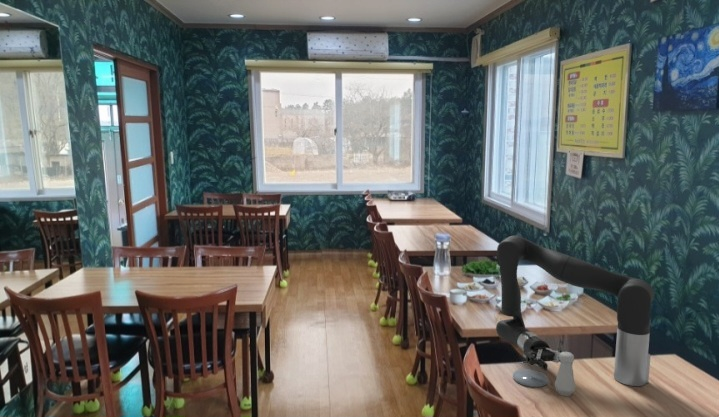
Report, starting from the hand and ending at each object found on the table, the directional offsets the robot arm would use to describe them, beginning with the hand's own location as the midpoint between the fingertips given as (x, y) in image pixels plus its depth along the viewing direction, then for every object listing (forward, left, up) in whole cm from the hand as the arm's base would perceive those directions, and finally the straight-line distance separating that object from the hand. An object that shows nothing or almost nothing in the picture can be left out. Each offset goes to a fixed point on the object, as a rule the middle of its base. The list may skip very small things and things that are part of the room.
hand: (558, 366), depth 158 cm
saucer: (+6, -6, -7) cm, 11 cm away
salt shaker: (0, +4, -7) cm, 8 cm away
